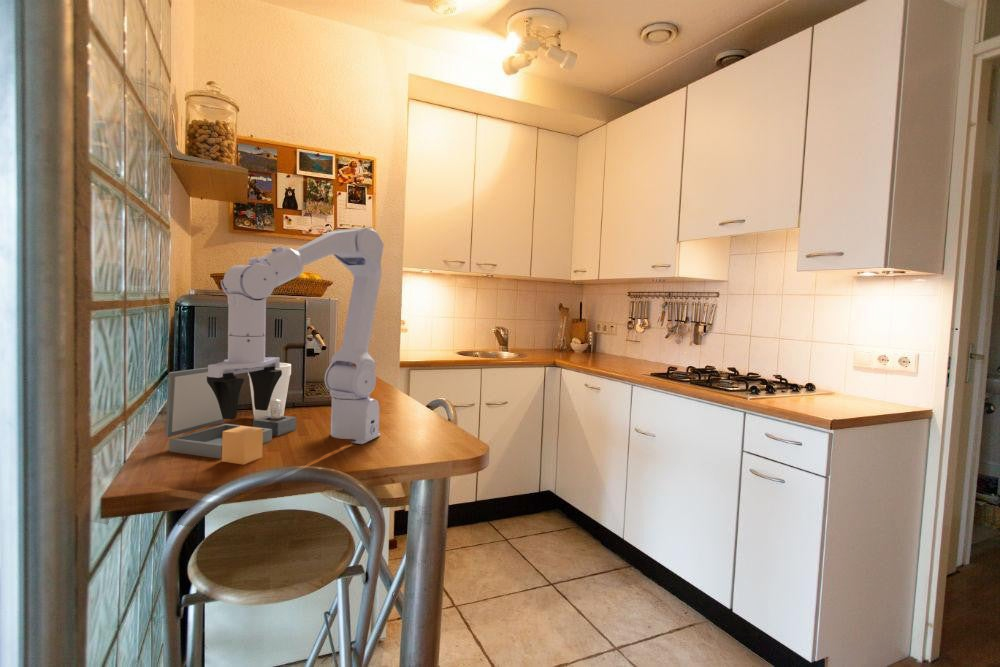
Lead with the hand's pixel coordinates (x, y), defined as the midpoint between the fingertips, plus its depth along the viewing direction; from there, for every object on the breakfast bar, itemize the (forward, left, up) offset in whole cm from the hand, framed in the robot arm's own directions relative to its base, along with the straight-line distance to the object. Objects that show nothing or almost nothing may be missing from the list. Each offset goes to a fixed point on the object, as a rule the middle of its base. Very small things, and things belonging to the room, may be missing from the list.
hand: (245, 414), depth 86 cm
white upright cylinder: (+8, -18, -8) cm, 21 cm away
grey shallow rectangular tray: (+10, -5, -9) cm, 14 cm away
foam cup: (+19, -30, -9) cm, 36 cm away
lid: (+15, -5, 0) cm, 16 cm away
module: (0, 0, -9) cm, 9 cm away
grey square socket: (+8, -18, -9) cm, 21 cm away
